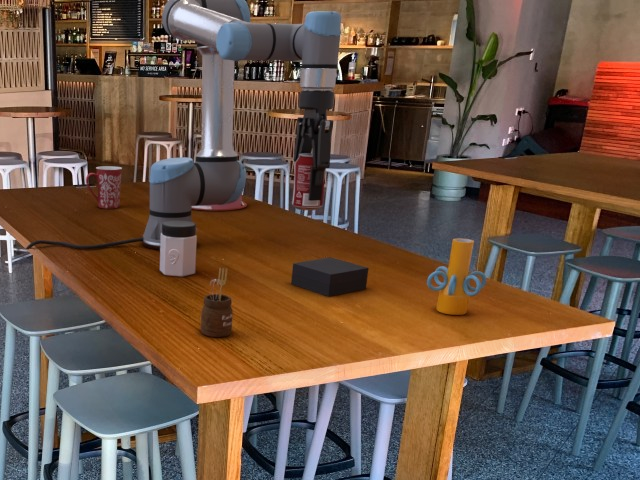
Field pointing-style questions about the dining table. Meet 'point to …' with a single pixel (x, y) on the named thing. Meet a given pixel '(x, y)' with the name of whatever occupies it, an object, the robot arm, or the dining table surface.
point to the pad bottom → (328, 286)
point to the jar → (178, 248)
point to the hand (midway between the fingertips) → (307, 197)
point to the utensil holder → (217, 312)
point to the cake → (222, 206)
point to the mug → (107, 186)
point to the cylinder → (456, 279)
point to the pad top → (330, 271)
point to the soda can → (304, 184)
